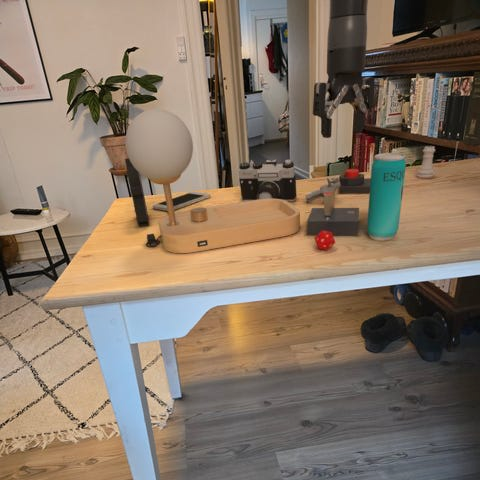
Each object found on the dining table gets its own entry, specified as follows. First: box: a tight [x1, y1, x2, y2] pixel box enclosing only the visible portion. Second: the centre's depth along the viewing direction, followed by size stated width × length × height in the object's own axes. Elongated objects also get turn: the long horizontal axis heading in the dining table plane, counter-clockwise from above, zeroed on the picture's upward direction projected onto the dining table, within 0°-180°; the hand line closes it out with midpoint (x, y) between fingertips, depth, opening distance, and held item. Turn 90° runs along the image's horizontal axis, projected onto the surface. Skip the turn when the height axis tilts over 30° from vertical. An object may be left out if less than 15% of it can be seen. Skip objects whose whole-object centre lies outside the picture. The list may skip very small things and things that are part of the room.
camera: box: [237, 159, 297, 202], centre depth 104 cm, size 15×11×10 cm
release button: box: [344, 168, 360, 178], centre depth 110 cm, size 4×4×2 cm
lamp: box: [124, 108, 301, 254], centre depth 83 cm, size 33×17×25 cm, turn 105°
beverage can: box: [366, 152, 407, 242], centre depth 76 cm, size 6×6×15 cm
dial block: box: [304, 207, 360, 237], centre depth 86 cm, size 11×11×3 cm
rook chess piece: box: [416, 145, 436, 179], centre depth 114 cm, size 4×4×8 cm
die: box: [313, 230, 336, 252], centre depth 76 cm, size 4×4×4 cm
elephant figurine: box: [304, 176, 341, 204], centre depth 102 cm, size 10×6×9 cm
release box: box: [338, 172, 371, 194], centre depth 110 cm, size 10×9×4 cm
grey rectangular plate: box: [323, 187, 336, 217], centre depth 85 cm, size 6×1×5 cm, turn 162°
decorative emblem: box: [124, 157, 150, 228], centre depth 98 cm, size 12×2×15 cm, turn 13°
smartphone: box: [152, 191, 211, 212], centre depth 113 cm, size 7×16×1 cm, turn 139°
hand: (342, 134), depth 89 cm, fingers open, 8 cm apart
